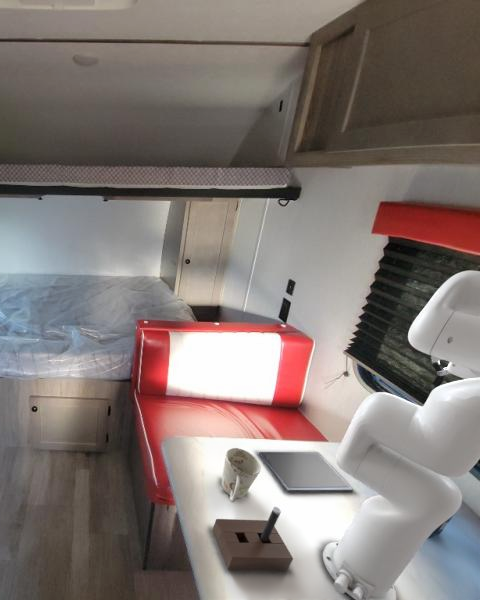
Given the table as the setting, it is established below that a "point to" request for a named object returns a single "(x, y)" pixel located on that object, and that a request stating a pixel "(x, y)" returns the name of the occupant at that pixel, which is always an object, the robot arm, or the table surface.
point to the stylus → (270, 525)
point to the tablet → (304, 472)
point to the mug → (239, 472)
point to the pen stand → (250, 545)
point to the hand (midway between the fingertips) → (461, 398)
